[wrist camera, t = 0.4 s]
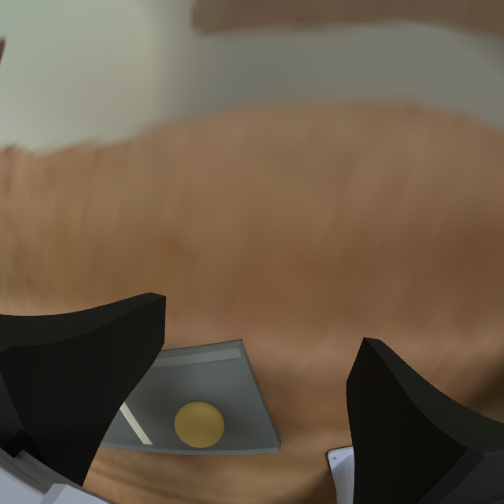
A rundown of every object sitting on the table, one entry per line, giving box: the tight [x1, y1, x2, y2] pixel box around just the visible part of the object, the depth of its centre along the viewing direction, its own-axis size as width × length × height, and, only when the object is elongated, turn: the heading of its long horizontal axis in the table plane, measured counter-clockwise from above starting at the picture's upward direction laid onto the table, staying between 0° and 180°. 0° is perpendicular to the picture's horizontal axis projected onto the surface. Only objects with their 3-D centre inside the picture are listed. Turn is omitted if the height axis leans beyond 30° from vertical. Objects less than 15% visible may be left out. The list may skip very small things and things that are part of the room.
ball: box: [175, 401, 224, 448], centre depth 22 cm, size 4×4×4 cm
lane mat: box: [100, 339, 281, 455], centre depth 25 cm, size 12×28×3 cm, turn 107°
